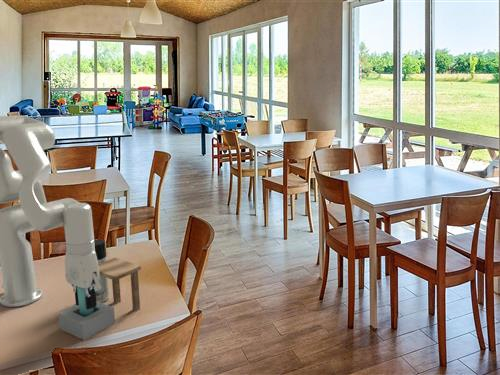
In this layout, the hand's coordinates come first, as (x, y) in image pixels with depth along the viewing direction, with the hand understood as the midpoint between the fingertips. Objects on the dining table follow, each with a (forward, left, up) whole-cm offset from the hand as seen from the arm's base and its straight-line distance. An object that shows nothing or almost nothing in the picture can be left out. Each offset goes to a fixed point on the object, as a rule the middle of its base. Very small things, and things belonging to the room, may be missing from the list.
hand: (86, 304), depth 132 cm
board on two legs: (0, +11, -7) cm, 13 cm away
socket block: (0, 0, -7) cm, 7 cm away
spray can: (-11, +13, -7) cm, 19 cm away
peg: (0, 0, -4) cm, 4 cm away
